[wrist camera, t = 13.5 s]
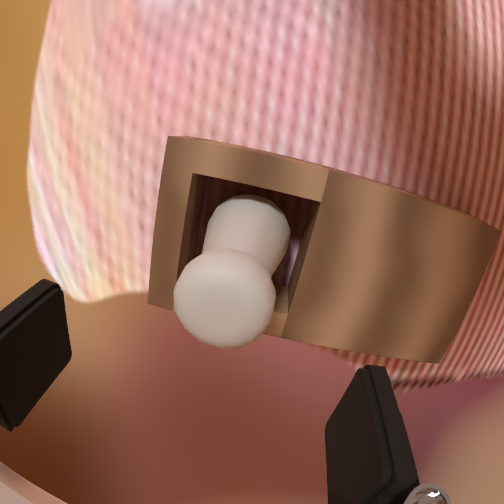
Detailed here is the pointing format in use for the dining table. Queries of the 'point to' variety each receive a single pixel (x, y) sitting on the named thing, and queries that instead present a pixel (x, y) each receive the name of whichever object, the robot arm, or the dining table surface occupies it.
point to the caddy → (336, 252)
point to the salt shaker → (234, 273)
